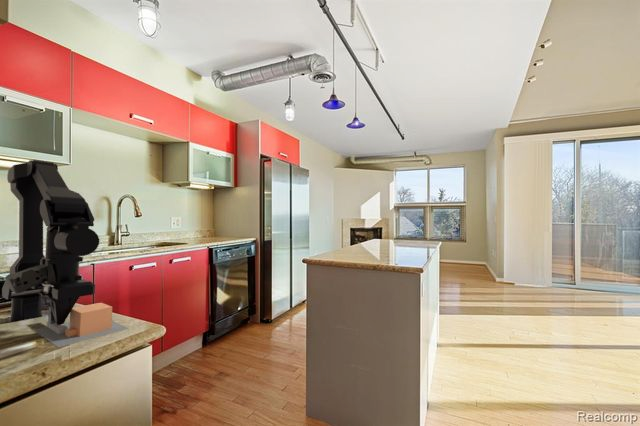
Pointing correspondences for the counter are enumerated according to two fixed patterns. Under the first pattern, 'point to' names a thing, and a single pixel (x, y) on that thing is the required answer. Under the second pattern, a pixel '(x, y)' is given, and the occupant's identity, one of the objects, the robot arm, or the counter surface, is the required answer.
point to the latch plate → (60, 339)
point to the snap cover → (89, 319)
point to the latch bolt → (49, 316)
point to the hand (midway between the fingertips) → (59, 324)
